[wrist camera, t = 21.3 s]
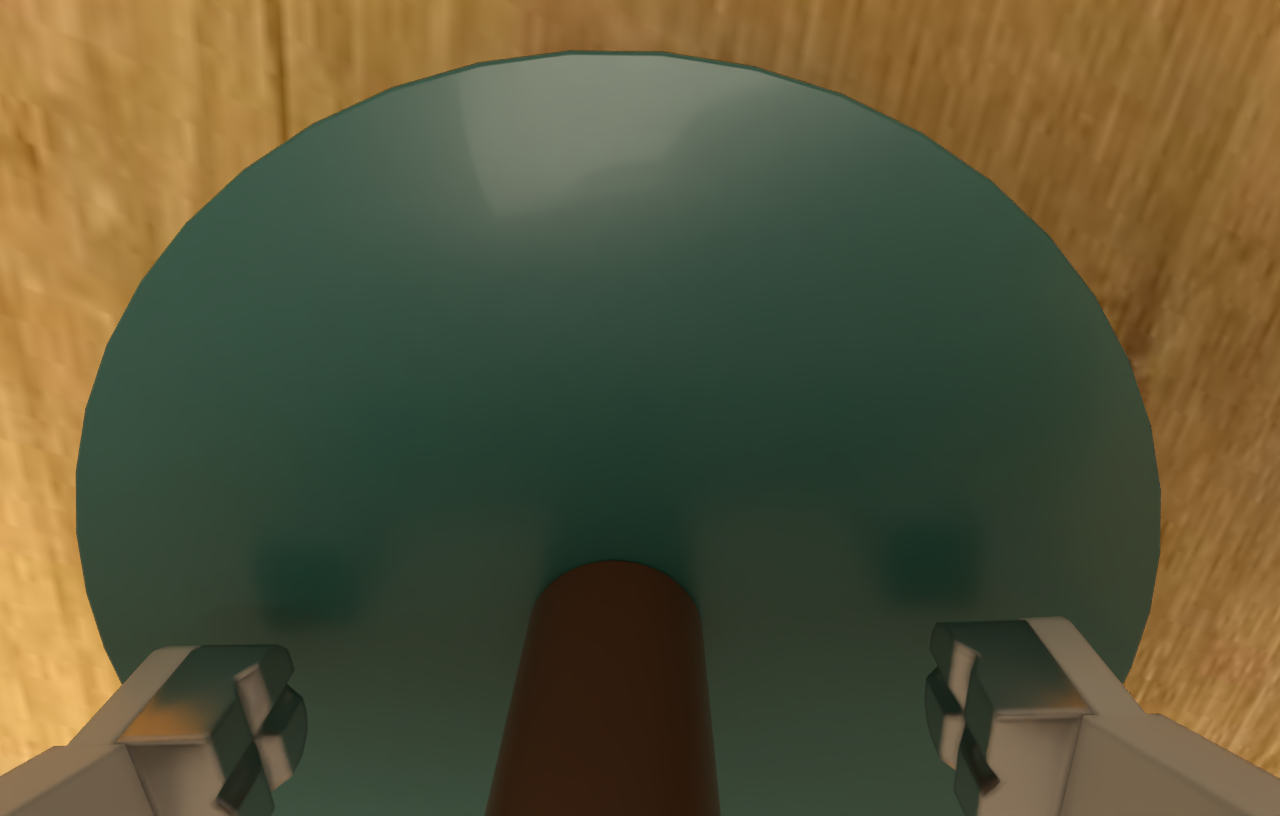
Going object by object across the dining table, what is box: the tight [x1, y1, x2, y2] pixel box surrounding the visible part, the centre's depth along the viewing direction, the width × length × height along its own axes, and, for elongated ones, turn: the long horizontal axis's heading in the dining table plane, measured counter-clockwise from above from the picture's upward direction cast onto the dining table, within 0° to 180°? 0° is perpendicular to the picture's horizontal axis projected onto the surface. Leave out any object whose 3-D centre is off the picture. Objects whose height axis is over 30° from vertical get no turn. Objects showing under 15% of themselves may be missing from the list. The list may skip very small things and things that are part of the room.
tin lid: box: [76, 50, 1161, 816], centre depth 9 cm, size 15×15×6 cm
